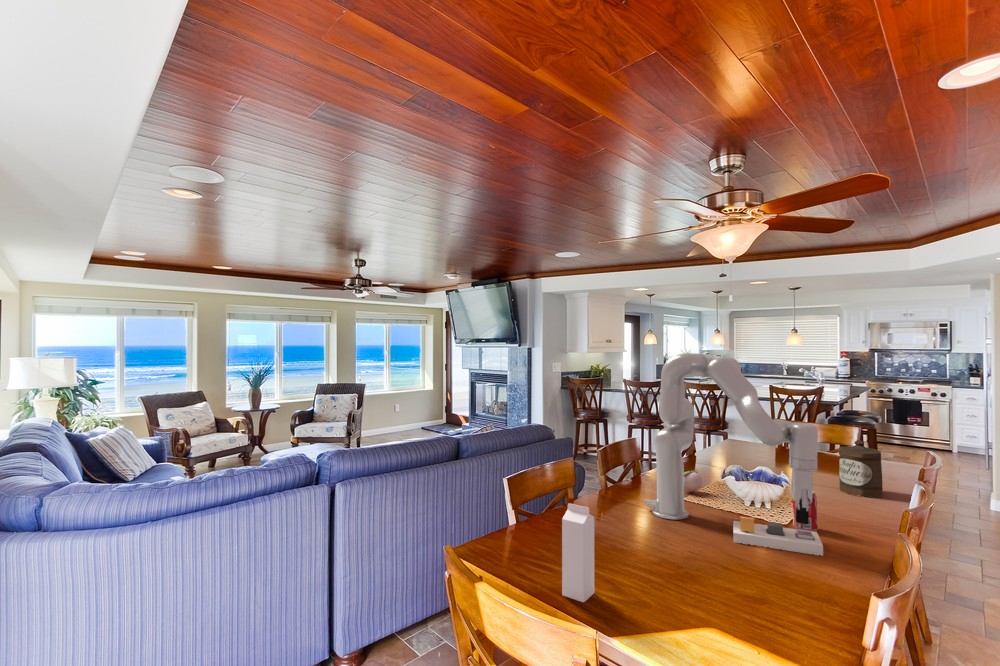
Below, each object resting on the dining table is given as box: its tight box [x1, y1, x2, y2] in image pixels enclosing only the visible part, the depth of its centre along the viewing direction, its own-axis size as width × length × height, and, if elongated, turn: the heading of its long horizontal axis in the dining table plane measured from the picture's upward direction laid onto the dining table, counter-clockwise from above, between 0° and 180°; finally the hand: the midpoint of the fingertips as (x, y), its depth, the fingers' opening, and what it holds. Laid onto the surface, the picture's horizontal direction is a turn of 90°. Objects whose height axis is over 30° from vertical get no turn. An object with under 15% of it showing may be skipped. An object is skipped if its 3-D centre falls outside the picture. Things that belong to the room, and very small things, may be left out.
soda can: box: [791, 490, 819, 532], centre depth 168 cm, size 7×7×13 cm
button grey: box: [796, 530, 813, 540], centre depth 154 cm, size 4×4×4 cm
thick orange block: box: [739, 515, 755, 533], centre depth 158 cm, size 4×2×7 cm, turn 65°
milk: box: [561, 502, 595, 604], centre depth 124 cm, size 6×6×22 cm
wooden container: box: [838, 439, 883, 498], centre depth 211 cm, size 15×15×22 cm
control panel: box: [732, 520, 824, 557], centre depth 157 cm, size 24×12×3 cm, turn 65°
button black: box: [767, 521, 784, 536], centre depth 157 cm, size 4×4×4 cm
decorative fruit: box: [684, 468, 703, 494], centre depth 210 cm, size 9×8×10 cm
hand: (802, 522), depth 154 cm, fingers closed
